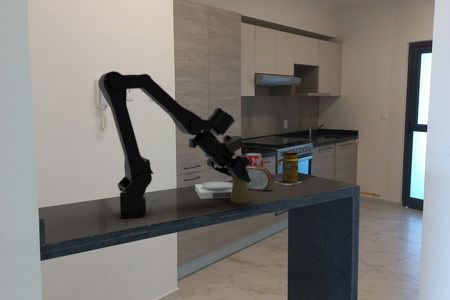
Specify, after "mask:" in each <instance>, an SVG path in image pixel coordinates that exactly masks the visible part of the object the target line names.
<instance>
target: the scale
mask: <svg viewBox="0 0 450 300" xmlns="http://www.w3.org/2000/svg"><path fill="white" fill-rule="evenodd" d="M232 186H233V182H229V181H207V182H204V183H199V184H194V189H195V192H196V194H197V196H198V197H199V199H200V200H206V199H224V198H225V199H226V198H227V199H228V198H231V194H232Z"/></svg>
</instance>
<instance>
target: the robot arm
mask: <svg viewBox="0 0 450 300" xmlns="http://www.w3.org/2000/svg"><path fill="white" fill-rule="evenodd" d="M97 84H98V87H99V91H101V94H102V96H103V98H104V100H105V102H107V105H108V106H109V109H110V111H111V114H112V117H113V121H114V125H115V128H116V133H117V136H118V139H119V142H120V146H121V149H122V153H123V155H124V164H123V165H124V166H123V168H124V177H122V178H121V180H120V181H119V182H118V183H117V187H118V190H119V191H120V193H119V204H120V205H119V206H120V207H119V209H120V213H119V218H120V219H128V218H131V219H132V218H144V217H145V214H147V200H146V196H145V194H146V190H147V188H148V187H149V185H150V184H151V182H152V181H153V176H152V175H154V172H153V170H152V167H151V161H150V159H148V158H146V157H143V156H142V155H141V153H140V149H139V145H138V142H137V137H136V134H135V130H134V127H133V123H132V120H131V116H130V113H129V109H128V106H127V97H128V92H127V90H135V89H136V90H137V89H139V90H140V91H142V92H143V93H144V94H145V95H146V96H147V97H149V99H151V100H152V101H153V102H154V103H155V104H156V105H158V107H160V109H162V110H163V111H164V112H166V114H168V115H169V117H170V119H172V121H173V123H174V124H175V127H176V128H177V129H178V131H180V132H181V133H182V134H184V135H190V136H194V137H193V138H189V139H188V140H189V141H188V147H189V148H192V149H196V147H198V148H199V149H200V150H202V152H203V153H204V154H205V157H206V158H207V160H206V165H207V167H208V168H210V169H211V170H214V171H215V172H218V173H221V174H224V175H226V176H229V177H231V178H232V177H233V176H234V177H236V178H238V179H241V180H243V181H245V182H248V183H250V181H251V179H250V177H249V175H248V172H247V170H246V167H247V166H248V164H249V163H250V160H249V159H248V158H247V157H246V155H241V154H240V155H236V154H237V153H236V151H238V150H240V149H241V148H245V146H246V144H245V142H244V140H243V139H244V138H243V137H242V136H239V135H232V136H231V135H229V134H228V135H227V134H226V133H227V131H228V130H229V129H230V128H231V126H232V125H233V124H234V123H235V118H234V117H233V116H232V115H231V114H229V112H227V111H225V110H223V109H222V108H221V107H216V108H215V109H214V111H213V112H212V113H211V115H210V116H209V117H208V118H207V119H204V118H202V117H201V116H199V115H197V114H196V113H194V112H193V111H191V110H189V109H187V108H185V106H182V105H181V104H180V103H179V102H178V101H176V100H175V99H174V98H173V96H171V95H170V94H169V93H168V92H167V91H165V90H164V88H162V86H160V85H159V84H158V83H157V82H156V81H155V80H154V79H153V78H152V76H151V75H149V74H147V73H141V74H122V73H120V72H118V71H116V70H114V71H108V72H106V73H105V72H104V73H103V74H101V76H100V77H99V79H98V83H97ZM225 134H226V135H225ZM219 136H223V138H222V142H221V141H220V140H219V139H218V137H219ZM235 155H236V156H235ZM234 156H235V157H234ZM234 177H233V178H234Z"/></svg>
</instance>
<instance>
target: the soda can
mask: <svg viewBox="0 0 450 300" xmlns="http://www.w3.org/2000/svg"><path fill="white" fill-rule="evenodd" d="M245 156H246V157H247V158H248V159H249V160H250V163H249V164H248V166H257V167H264V158H263V157H262V153H258V152H257V153H256V152H251V153H245Z"/></svg>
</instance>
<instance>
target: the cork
mask: <svg viewBox="0 0 450 300" xmlns="http://www.w3.org/2000/svg"><path fill="white" fill-rule="evenodd" d="M246 170H247V172H248V169H247V167H246ZM233 177H234V176H233ZM232 183H233V186H232V194H231V197H230V202H232V203H234V204H246V203H249V202H250V193H249V189H248V185H247V182H245V181H243V180H241V179H238V178H236V177H234V178H233V179H232Z"/></svg>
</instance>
